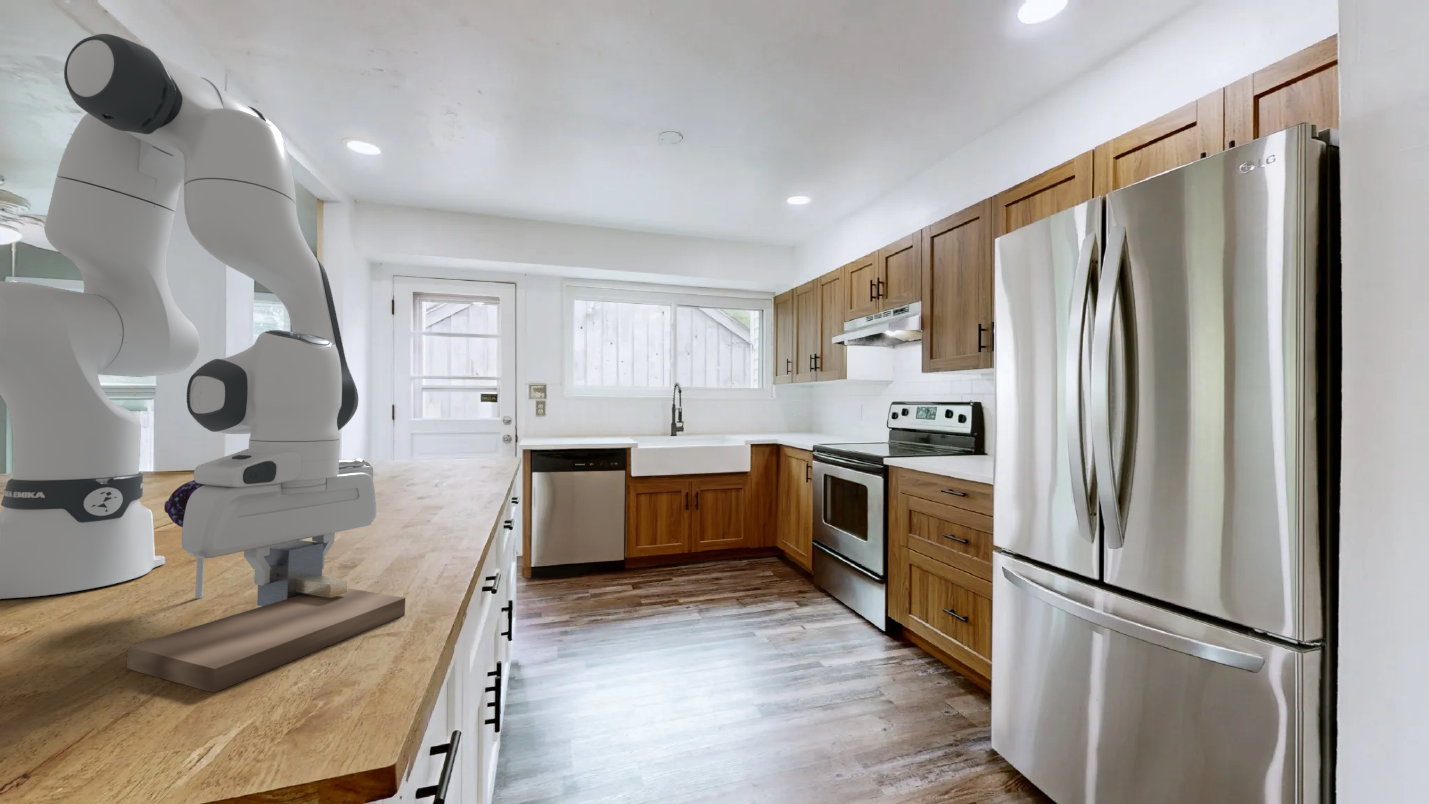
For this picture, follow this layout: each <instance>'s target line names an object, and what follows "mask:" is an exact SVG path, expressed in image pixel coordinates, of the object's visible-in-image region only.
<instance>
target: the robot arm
mask: <svg viewBox="0 0 1429 804" xmlns="http://www.w3.org/2000/svg"><path fill="white" fill-rule="evenodd" d="M63 76H64V77H63V78H64V83H65V85H66V88H67V91H68V93H69V95H70V97H71V98H72V100H73V102H74V103H75V104H76V105H77V106H78V107H80V108H81V109H82V110H83V111H85V112H86V114H85V115H84V116H83V117H81V119H80V121H79V122H78V124H77V126H76V127H75V129H74V130H73V132H72V134H71V136H70V139H69V140H68V143H67V144H66V147H65V148H64V152H63V154H62V157H61V158H60V159H61V160H60V162H59V165H58V170H57V173H56V177H55V179H54V185H53V189H52V193H51V197H50V202H49V206H48V209H47V215H46V219H45V223H44V234H45V237H46V239H47V241H48V242H49V244H50V245H51V246H52V247H53V248H54V249H55V250H57V251H58V252H59V253H60V254H61V255H63V256H64V257H66V258H67V259H69V260H71V261H72V262H73V263H74V264H75V266H76V267H77V268H78V270H79V272H80V274H81V277H82V282H83V292H81V291H76V290H69V289H65V288H58V287H53V286H48V285H42V284H39V283H38V284H37V283H32V282H19V281H1V280H0V396H1V398H2V399H3V401H4V403H5V405H6V408H7V410H8V412H9V415H10V419H11V424H12V440H13V441H12V442H13V462H12V463H13V464H12V478H10V479H8V480H7V483H6V485H5V488H4V489H3V492H2V500H1V502H0V503H1V504H0V506H2V507H3V508H2V509H1V511H0V600H1V599H2V600H3V599H15V598H29V597H31V598H32V597H40V596H49V595H57V594H58V595H59V594H67V593H71V592H73V593H74V592H78V591H84V590H91V589H95V588H100V587H105V586H110V585H115V584H117V583H118V584H119V583H123V582H126V581H130V580H132V579H137V578H139V577H142V576H144V575H146V574H148V573H149V572H151V571H152V570H153V569H154V568H156V567H158V566H162V565H164V564H165V563H166V557H165V556H163V555H156V552H155V532H154V531H155V530H154V519H153V511H152V510H151V509H149V508H148V507H145V506H144V505H143V504H142V503H141V501H140V499H141V498H142V497H143V493H144V492H143V490H144V487H145V482H144V474H143V473H141V472H139V471H140V455H141V453H140V451H141V437H142V436H141V431H142V425H141V422H140V420H139V418H138V417H137V415H136V414H135V413H134V412H133V411H131V410H129V409H128V408H126V407H123V406H121V405H119V404H117V403H115V402H113V400H111V398H110V397H108V394H107V395H106V393H105V391H104V389H103V388H102V385H101V382H100V379H99V375H100V376H102V375H103V376H113V377H114V376H116V377H128V378H129V377H131V378H145V377H146V378H147V377H157V376H163V375H165V376H166V375H170V374H173V375H174V374H178V373H181V372H183V371H184V370H186V369H188V368H189V367H190V366H191V365H192V364H193V363H194V362H195V360H196V359H197V358H198V355H199V353H200V348H201V339H200V338H201V337H200V335H199V332H198V330H197V327H196V326H195V325H194V323H193V322H192V321H191V320H190V319H188V317H186V315H185V314H184V313H183V312H182V311H181V309H180V308H179V306H178V304H177V303H176V301H175V298H174V297H173V294H172V291H171V287H170V284H169V279H168V272H167V257H168V251H169V245H170V240H171V234H172V230H173V225H174V221H175V217H176V212H177V206H178V202H179V196H180V191H181V190H180V189H181V186H182V183H183V204H184V205H183V206H184V207H183V208H184V215H185V221H186V223H187V225H188V229H189V232H190V233H191V235H192V237H193V238H194V239H195V241H196V242H197V243H198V244H199V245H200V246H201V247H202V248H203V249H204V250H205V251H206V252H207V253H209V254H210V255H212V256H213V257H214V258H215V259H217V260H218V261H219V262H221V263H223V264H224V265H226V266H228V267H229V268H232V269H234V270H235V271H237V272H239V273H241V274H243V275H245V276H247V277H248V278H250V279H252V280H254V281H255V282H257V283H258V284H260V285H262V286H263V287H264V288H266V289H267V290H269V291H270V292H271V293H272V294H273V295H275V296H276V297H277V298H278V299H279V300H280V301H281V303H282V305H283V306H284V307H285V309H286V311H287V313H288V316H289V317H288V318H289V321H290V325H291V330H292V331H289V330H283V329H282V330H278V329H271V330H266V331H263V332H261V333H260V334H258V337H257V338H256V340H255V341H254V343H253V344H252V345H251V346H250V347H249V348H246V349H245V350H243V351H241V352H238V353H235V354H233V355H231V356H228V357H224V358H214V359H212V360H210V361H208V362H206V363H204V364H203V365H202V366H200V367H199V368H198V369H197V370H196V371H195V372H193V374H192V375H191V376H190V378H189V380H188V384H187V388H186V404H187V405H186V406H187V410H188V412H189V414H190V416H192V418H193V419H194V420H195V421H196V422H197V423H198V424H199V425H201V427H202V428H204V429H206V430H208V431H209V432H214V433H216V432H217V433H220V434H226V435H227V434H228V435H250V436H249V439H248V448H247V449H243V450H240V451H237V452H235V453H231V454H229V455H226V456H223V457H220V458H217V459H214V460H211V461H207V462H204V463H201V464H199V465H197V466H196V467H195V468H194V469H193V480H195V482H196V483H199V484H205V485H204V486H201V487H199V488H198V489H196V490H195V491H194V492H193V493H192V494H191V496H190V498H189V500H188V502H187V505H186V510H185V515H184V521H183V528H182V527H181V528H182V529H181V530H182V531H181V546H182V549H183V550H184V551H185V552H186V553H187V554H189V556H192V557H195V558H197V557H200V558H204V559H213V558H214V559H215V558H218V557H222V556H223V557H224V556H227V555H228V556H229V555H232V554H233V555H234V554H237V553H242V552H243V557H244V559H245V560H246V561H247V562H248V564H249V565H250V567H251V568H252V569H253V570H254V579H253V580H254V581H253V582H254V584H255V585H257V586H258V585H261V586H263V585H267V584H270V583H274V582H277V580H278V576H277V574H278V568H279V567H272V566H269V564H268V563H267V561H266V559H265V558H264V556H268V555H269V554H270V546H272V545H277V544H282V543H287V542H292V541H296V540H305V539H310V538H311V542H318V543H323V563H322V570H324V568H325V557H326V556H327V554H328V552H329V551H330V549H331V547H332V546H333V544H334V543H335V538H336V537H335V534H336V533H338V532H344V531H345V532H346V531H349V530H354V529H358V528H364V527H368V526H371V525H372V524H373V523H374V521H375V519H376V518H377V499H376V498H377V497H376V489H375V488H376V487H375V483H374V467H373V466H372V465H371V464H370V463H369V462H368V461H365V459H363V458H354V459H340V446H341V445H340V444H341V440H340V439H341V435H340V430H341V429H342V428H344V427H345V426H346V425H347V424H348V423H349V422H350V421H351V420H352V418H353V417H354V415H355V413H356V412H357V409H358V407H359V394H358V393H359V392H358V389H357V385H356V383H355V381H354V378H353V376H352V373H351V371H350V369H349V365H348V363H347V358H346V354H345V350H344V346H343V340H342V336H341V331H340V327H339V326H340V325H339V321H338V317H337V312H336V306H335V303H334V299H333V294H332V289H331V285H330V282H329V277H328V274H327V271H326V269H325V267H324V264H323V263H322V262H321V260H320V259H319V258H318V257H317V256H316V255H315V254H314V253H313V251H312V249H311V247H310V246H309V245H308V243H307V241H306V239H305V236H304V234H303V230H302V228H301V225H300V222H299V218H298V212H297V209H298V208H297V196H296V186H295V180H294V174H293V169H292V164H291V160H290V155H289V152H288V148H287V146H286V143H285V141H284V138H283V135H282V133H281V131H280V130H279V129H278V127H277V126H276V125H275V124H274V123H273V122H272V121H271V120H270V119H269V118H267V117H266V115H264V114H263V113H261V112H260V111H259V110H257V109H256V108H254V107H252V106H248V105H247V104H245V103H244V102H243V101H242V100H240V99H239V98H237V97H236V96H234V95H233V94H232V93H229V92H228V91H227V90H225V89H223V88H222V87H221V86H219V85H217V84H215V83H214V82H213V81H211V80H209V79H207V78H205V77H202V76H199V75H198V74H195V73H193V72H192V71H190V70H188V69H186V68H184V67H182V66H181V65H178V64H176V63H174V62H172V61H170V60H167V59H166V58H163V57H162V56H159V55H156V54H155V52H154V51H153V50H151V49H150V48H148V47H146V46H144V45H141V44H139V43H136V42H134V41H131V40H129V39H126V38H123V37H122V36H121V37H120V36H117V35H113V34H111V33H99V34H94V35H91V36H88V37H85V38H83V39H82V40H80V41H79V42H77V43H76V44H75V45H74V46H73V48H72V49H71V50H70V52H68V56H67V57H66V61H65V63H64V68H63Z"/></svg>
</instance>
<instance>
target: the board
mask: <svg viewBox="0 0 1429 804" xmlns="http://www.w3.org/2000/svg"><path fill="white" fill-rule="evenodd" d="M405 614H406V597H402V596H397V595H390V594H384V593H380V592H379V593H377V592H373V591H367V590H361V589H360V590H359V589H354V588H348V587H347V593H344V594H341V595H338V596H335V597H331V598H328V597H322V596H316V595H311V594H302V595H298V596H295V597H292V598H288V599H285V600H282V601H278V602H275V603H272V604H269V605H265V606H259V607H256V608H253V609H249V610H245V611H242V612H240V613H236V614H233V615H229V616H226V617H223V618H219V619H216V620H212V621H209V622H206V623H203V624H199V625H196V626H193V627H189V628H186V629H183V630H180V631H175V632H173V633H169V634H165V635H164V636H159V637H156V638H152V639H149V640H146V641H142V642H139V643H136V644H132V645H129V646H127V665H126V669H127V670H130V671H133V672H138V673H142V674H145V675H149V676H153V677H156V678H160V679H164V680H167V681H170V682H174V683H178V684H182V685H184V686H188V687H193V688H194V689H195V688H196V689H199V690H203V691H206V692H210V693H216V692H219V691H221V690H223V689H226V688H228V687H231V686H234V685H236V684H238V683H241V682H243V681H246V680H248V679H250V678H253V677H255V676H258V675H260V674H263V673H265V672H268V671H270V670H273V669H275V668H277V667H281V666H283V665H285V664H288V663H291V662H292V661H295V660H297V659H300V658H302V657H304V656H307V655H310V654H313V653H315V652H317V651H319V650H322V649H324V648H326V647H328V646H331V645H334V644H336V643H339V642H341V641H344V640H346V639H348V638H351V637H354V636H356V635H359V634H361V633H363V632H366V631H369V630H371V629H373V628H376V627H378V626H381V625H383V624H386V623H389V622H391V621H393V620H395V619H398V618H401V617H403V616H405Z"/></svg>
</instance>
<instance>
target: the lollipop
mask: <svg viewBox="0 0 1429 804" xmlns="http://www.w3.org/2000/svg"><path fill="white" fill-rule="evenodd" d="M204 485H205V484H199V483H196V482H195V480H194V479H193V480H190V481H188V482H185V483H183V484H182V485H180V486H179V487H177V488H176V489H175V490H174V491H173V492H172V493H171V494H170V496H169V497H168V500H166V501H165V502H164V510H163V511H164V512H165V513H166V514H167V515H168V517H169V518H170V520H171V521H172V522H173V523H174V524H175V525H176V526H178V527H181V528H183V521H184V515H185V510H186V505H187V502H188V500H189V498H190V496H191V494H192V493H193V492H194V491H195V490H196V489H198V488H199V487H201V486H204ZM204 567H205V558H200V557H196V575H195V577H196V578H195V595H194V599H196V600H197V599H202V598H203V593H204V571H205V570H204V569H205V568H204Z"/></svg>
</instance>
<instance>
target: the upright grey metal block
mask: <svg viewBox="0 0 1429 804" xmlns="http://www.w3.org/2000/svg"><path fill="white" fill-rule="evenodd" d="M264 558H265V559H266V561H267V563H268V564H269V566H272V567H279V568H278V574H277V576H278V580H277V582H274V583H270V584H267V585H263V586H261V585H257V602H256V605H257V606H259V607H262V606H265V605H269V604H272V603H275V602H278V601H282V600H285V599H288V598H292V597H295V596H298V595H302V594H311V595H316V596H322V597H328V598H331V597H335V596H338V595H341V594H344V593H347V588H348V579H344V578H338V577H332V576H325V575H323V569H322V563H323V543H318V542H314V541H312V540H304V539H301V540H296V541H292V542H287V543H282V544H277V545H272V546H270V554H269V555H268V556H264Z"/></svg>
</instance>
